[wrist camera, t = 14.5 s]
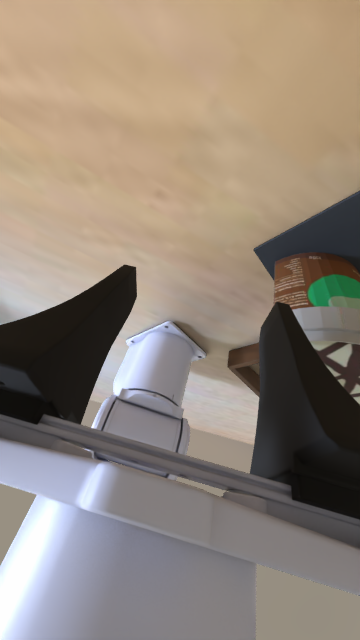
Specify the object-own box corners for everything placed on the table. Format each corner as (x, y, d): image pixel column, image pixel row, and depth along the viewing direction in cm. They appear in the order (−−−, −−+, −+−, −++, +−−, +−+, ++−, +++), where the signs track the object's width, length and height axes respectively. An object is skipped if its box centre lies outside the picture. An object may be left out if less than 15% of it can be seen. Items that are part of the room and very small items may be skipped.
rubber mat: (312, 336, 27) (312, 338, 26) (253, 248, 21) (253, 250, 21) (405, 311, 22) (407, 314, 22) (363, 188, 16) (364, 190, 16)
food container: (396, 314, 22) (453, 424, 15) (323, 334, 26) (344, 429, 19) (350, 203, 16) (409, 299, 10) (266, 249, 20) (268, 341, 14)
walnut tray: (281, 403, 39) (281, 419, 37) (229, 351, 32) (227, 366, 30) (347, 396, 33) (351, 413, 32) (301, 330, 26) (304, 348, 25)
